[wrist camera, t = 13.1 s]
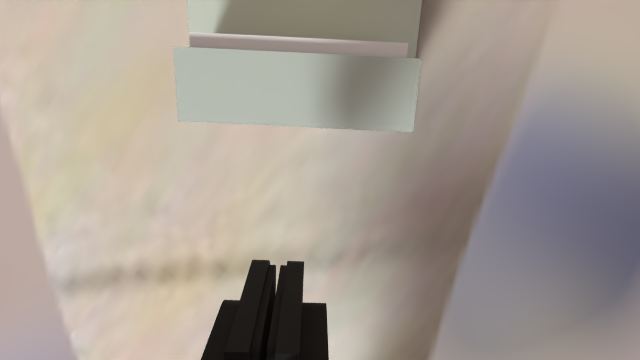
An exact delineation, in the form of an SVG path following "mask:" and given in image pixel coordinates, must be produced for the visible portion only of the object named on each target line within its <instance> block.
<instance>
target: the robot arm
mask: <svg viewBox="0 0 640 360" xmlns="http://www.w3.org/2000/svg"><path fill="white" fill-rule="evenodd" d="M303 275H304V262H299V261H287V266H286V265H281V267H280V273H279V279H278V285H277V291H276V265H270V261H269V260H252V263H251V266H250V269H249V272H248V276H247V279H246V282H245V286H244V289H243V292H242V295H241V299H240V300H224V301H223V302H222V304H221V307H220V310H219V312H218V315H217V318H216V320H215V323H214V326H213V328H212V331H211V334H210V336H209V339H208V342H207V344H206V347H205V350H204V353H203V355H202V358H201V360H329V357H328V333H327V309H326V303H302V301H303Z"/></svg>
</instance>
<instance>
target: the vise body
mask: <svg viewBox="0 0 640 360" xmlns="http://www.w3.org/2000/svg"><path fill="white" fill-rule="evenodd" d="M421 6H422V0H187V10H188V30H189V32H199V33H219V34H239V35H258V36H278V37H298V38H318V39H338V40H358V41H377V42H397V43H408V51H407V58H416V50H417V41H418V33H419V24H420V15H421ZM189 47H190V38H189Z"/></svg>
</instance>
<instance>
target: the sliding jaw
mask: <svg viewBox="0 0 640 360" xmlns="http://www.w3.org/2000/svg"><path fill="white" fill-rule="evenodd" d="M189 38H190V47H175V46H173V49H174V65H175V80H176V96H177V112H178V121H179V122H201V123H223V124H245V125H267V126H288V127H310V128H332V129H354V130H376V131H398V132H413V128H414V120H415V111H416V103H417V95H418V86H419V78H420V70H421V61H422V59H417V58H407V51H408V43H397V42H377V41H358V40H338V39H318V38H298V37H278V36H258V35H239V34H219V33H199V32H189Z"/></svg>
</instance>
